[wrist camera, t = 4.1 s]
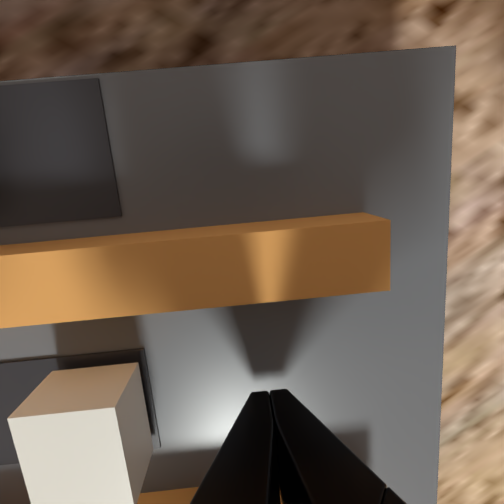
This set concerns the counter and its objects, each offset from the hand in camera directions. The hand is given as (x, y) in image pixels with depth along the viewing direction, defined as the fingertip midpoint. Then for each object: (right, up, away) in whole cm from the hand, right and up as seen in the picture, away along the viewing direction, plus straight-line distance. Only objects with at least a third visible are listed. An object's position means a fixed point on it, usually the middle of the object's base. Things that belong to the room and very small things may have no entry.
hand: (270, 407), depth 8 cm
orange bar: (-6, +3, 0) cm, 7 cm away
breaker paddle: (-4, 0, 0) cm, 4 cm away
